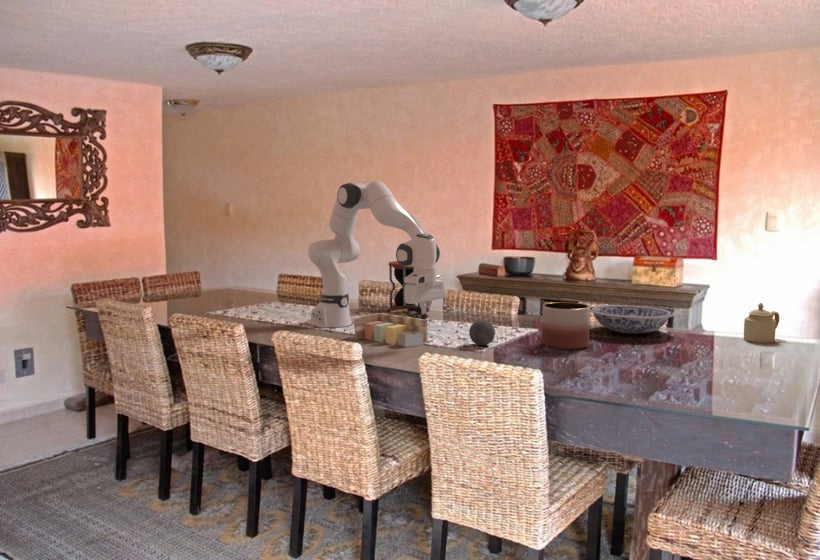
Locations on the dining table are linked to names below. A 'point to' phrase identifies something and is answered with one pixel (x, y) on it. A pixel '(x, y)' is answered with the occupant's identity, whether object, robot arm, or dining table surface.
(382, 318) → the shelf corner
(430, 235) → the robot arm
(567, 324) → the planter
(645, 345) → the dining table surface
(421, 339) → the block
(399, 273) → the hourglass
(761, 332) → the sugar bowl
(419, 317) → the brown owl figurine
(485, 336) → the decorative ball
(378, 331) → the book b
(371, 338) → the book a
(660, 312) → the ceramic bowl
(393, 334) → the book
